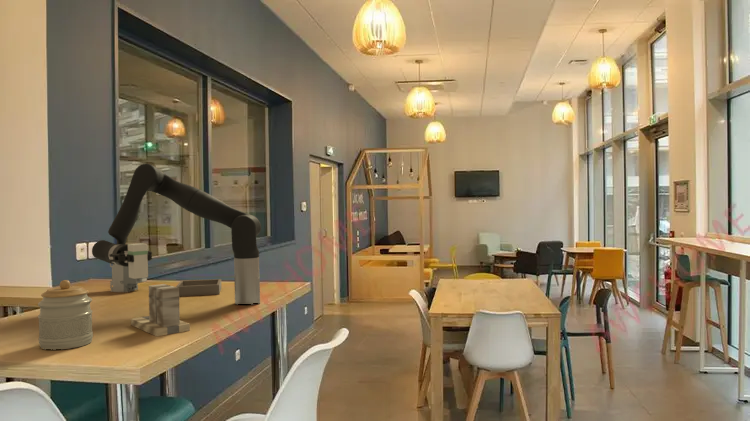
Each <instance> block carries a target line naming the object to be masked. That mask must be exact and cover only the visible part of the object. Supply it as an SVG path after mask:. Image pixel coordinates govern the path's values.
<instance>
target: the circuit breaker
mask: <svg viewBox="0 0 750 421" xmlns="http://www.w3.org/2000/svg"><path fill="white" fill-rule="evenodd" d="M109 268H111V280H110V282H109V284H110V285H109V286H110V293H112V292H113V293H130V292H133V291H137V290H139V285H138V284H140V283H144V282H148V277H145V278H136V279H133V278H129V267H125V266H120V265H116V264H110V263H109Z"/></svg>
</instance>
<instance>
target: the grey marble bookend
mask: <svg viewBox="0 0 750 421" xmlns="http://www.w3.org/2000/svg"><path fill="white" fill-rule="evenodd" d="M180 313H181V312H180V296H179V288H178V287H176V286H173V285H169V284H165V283H162V284H152V285H148V314H149V315H147V316H140V317H133V318H130V326H132V327H135V328H137V329H139V330H141V331H143V332H146V333H148V334H150V335H152V336H155V337H161V336H165V335H167V336H168V335H171V334H177V333H183V332H184V333H185V332H189V331H190V330H191V328H190V327H191V324H190V323H189V322H186V321H183V320H180V318H181V317H180V315H181V314H180Z"/></svg>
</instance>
